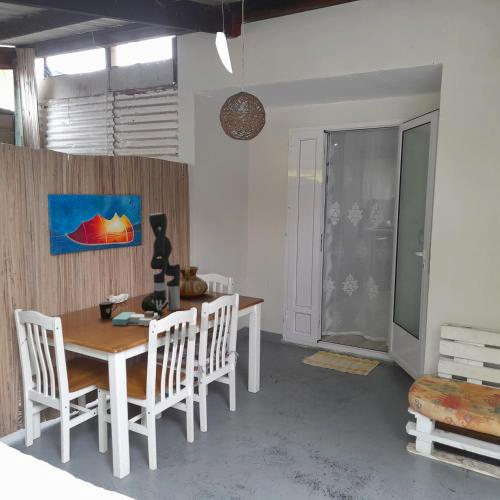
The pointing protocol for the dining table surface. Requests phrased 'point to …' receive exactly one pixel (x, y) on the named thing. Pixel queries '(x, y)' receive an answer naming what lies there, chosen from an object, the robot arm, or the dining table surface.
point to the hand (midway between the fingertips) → (159, 315)
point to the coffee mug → (106, 309)
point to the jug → (191, 283)
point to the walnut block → (149, 314)
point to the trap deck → (133, 319)
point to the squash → (148, 303)
